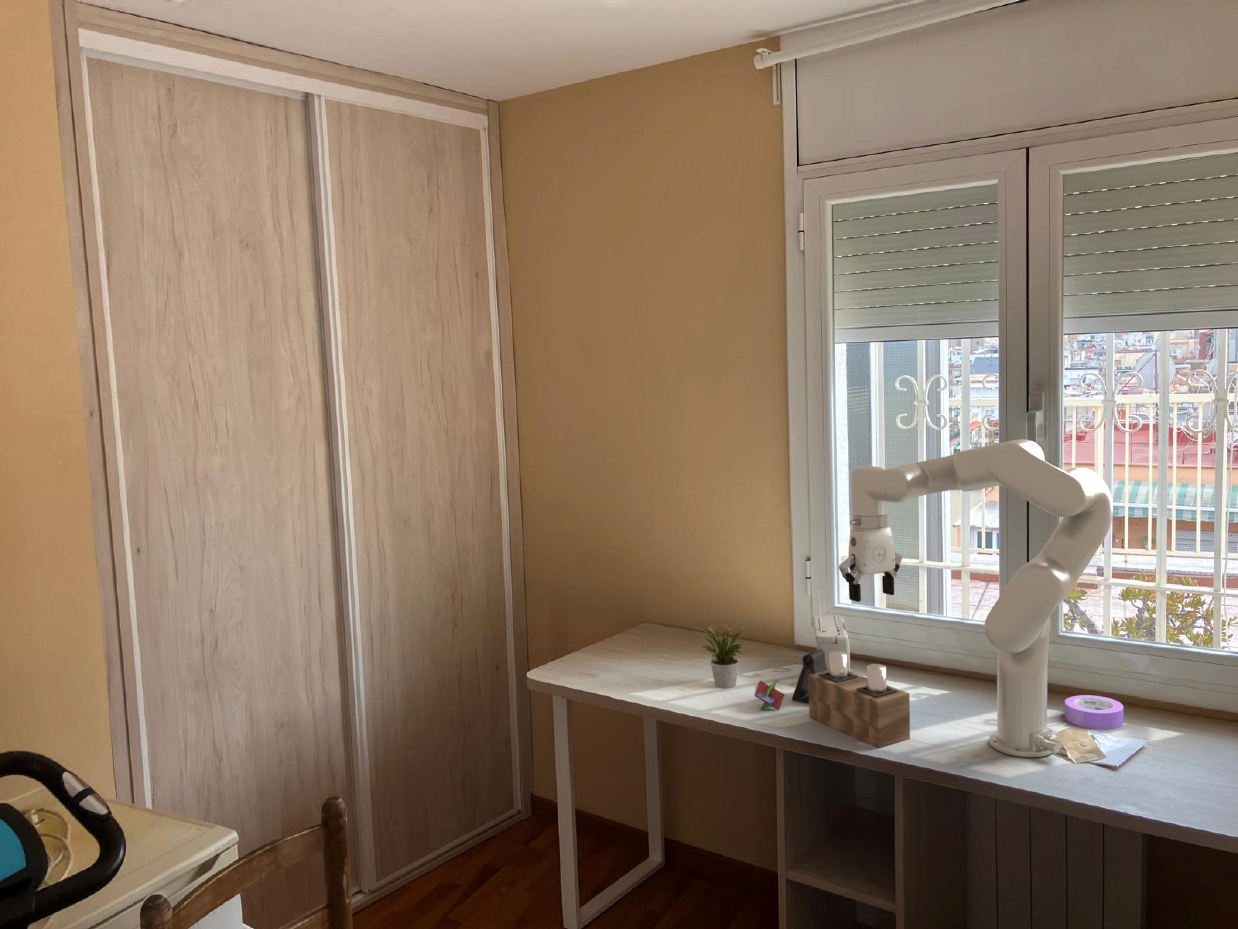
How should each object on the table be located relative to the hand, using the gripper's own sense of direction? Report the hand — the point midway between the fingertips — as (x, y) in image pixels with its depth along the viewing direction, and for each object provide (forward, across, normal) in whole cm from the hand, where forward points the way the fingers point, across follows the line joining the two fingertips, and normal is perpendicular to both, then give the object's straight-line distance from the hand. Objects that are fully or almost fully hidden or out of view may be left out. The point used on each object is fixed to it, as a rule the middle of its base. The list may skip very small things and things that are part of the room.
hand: (871, 597), depth 222 cm
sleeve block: (+28, -8, -3) cm, 29 cm away
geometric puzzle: (+28, -17, +18) cm, 37 cm away
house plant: (+27, -18, +38) cm, 50 cm away
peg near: (+21, -7, -9) cm, 24 cm away
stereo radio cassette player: (+28, +11, +29) cm, 41 cm away
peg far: (+21, -8, +3) cm, 23 cm away
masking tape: (+29, +38, -27) cm, 55 cm away
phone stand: (+28, -4, +16) cm, 32 cm away
